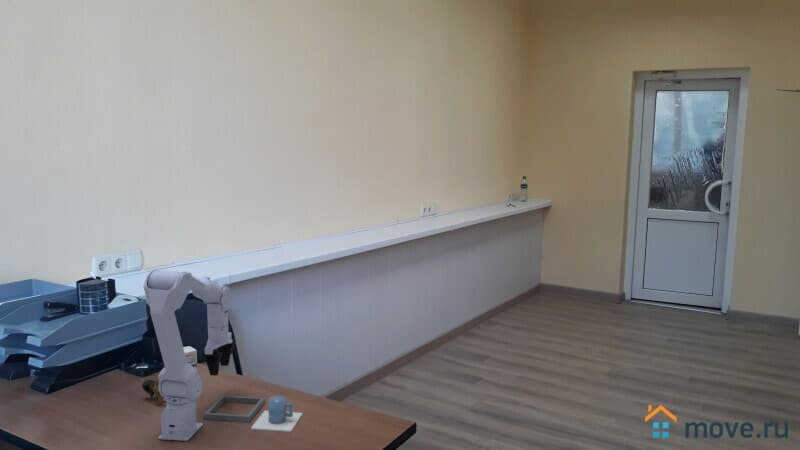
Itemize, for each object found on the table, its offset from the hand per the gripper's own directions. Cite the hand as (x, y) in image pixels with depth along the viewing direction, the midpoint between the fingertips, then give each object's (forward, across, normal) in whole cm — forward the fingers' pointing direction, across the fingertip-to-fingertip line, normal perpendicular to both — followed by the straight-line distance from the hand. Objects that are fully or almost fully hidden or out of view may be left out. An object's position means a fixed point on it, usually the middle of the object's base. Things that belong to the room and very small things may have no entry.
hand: (219, 370), depth 184 cm
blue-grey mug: (+9, -11, -21) cm, 25 cm away
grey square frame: (+9, -6, -7) cm, 13 cm away
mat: (+9, -11, -21) cm, 26 cm away
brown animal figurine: (+10, -1, +17) cm, 20 cm away
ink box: (+10, +8, +16) cm, 20 cm away
